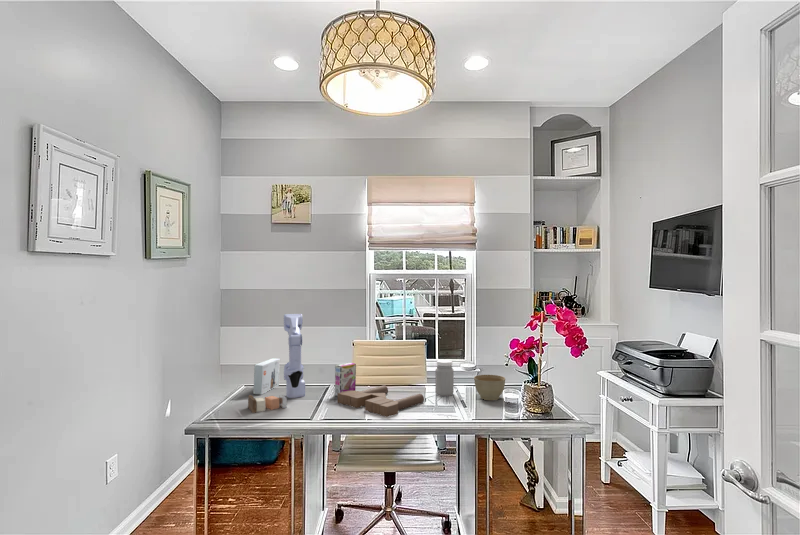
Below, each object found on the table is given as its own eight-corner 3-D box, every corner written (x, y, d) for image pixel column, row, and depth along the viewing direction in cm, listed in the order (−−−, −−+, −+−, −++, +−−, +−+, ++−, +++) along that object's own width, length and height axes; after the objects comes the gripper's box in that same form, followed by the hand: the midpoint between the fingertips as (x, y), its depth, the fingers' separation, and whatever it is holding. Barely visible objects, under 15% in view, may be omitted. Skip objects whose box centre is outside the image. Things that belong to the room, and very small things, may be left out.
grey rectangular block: (283, 404, 228) (283, 395, 228) (286, 407, 223) (286, 398, 223) (279, 404, 227) (279, 395, 227) (282, 408, 222) (282, 398, 222)
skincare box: (262, 395, 249) (262, 365, 249) (252, 394, 250) (253, 364, 250) (280, 385, 270) (280, 358, 270) (271, 385, 271) (271, 357, 271)
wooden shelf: (285, 404, 232) (285, 390, 232) (291, 409, 223) (291, 395, 223) (248, 409, 223) (248, 395, 223) (252, 414, 214) (252, 400, 214)
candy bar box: (340, 397, 244) (340, 366, 244) (334, 396, 247) (334, 365, 247) (356, 393, 252) (356, 363, 253) (350, 392, 256) (350, 362, 256)
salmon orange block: (272, 406, 226) (272, 395, 226) (279, 408, 222) (279, 398, 222) (264, 407, 223) (264, 397, 223) (271, 410, 219) (271, 399, 219)
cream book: (262, 407, 223) (262, 397, 223) (265, 411, 218) (265, 400, 218) (253, 409, 221) (253, 398, 221) (256, 412, 216) (256, 401, 216)
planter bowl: (495, 393, 254) (495, 373, 254) (511, 401, 238) (511, 380, 238) (468, 395, 249) (468, 375, 249) (483, 403, 233) (483, 382, 234)
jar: (456, 393, 253) (456, 360, 254) (449, 397, 245) (449, 363, 245) (439, 391, 258) (439, 358, 258) (432, 395, 249) (432, 361, 249)
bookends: (387, 418, 212) (428, 405, 233) (387, 406, 212) (428, 394, 233) (337, 403, 235) (378, 392, 257) (337, 392, 235) (378, 382, 257)
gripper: (294, 356, 236) (294, 383, 236) (280, 361, 222) (280, 390, 222) (307, 356, 235) (307, 384, 234) (293, 362, 221) (293, 391, 220)
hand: (295, 387), depth 228 cm, fingers closed
